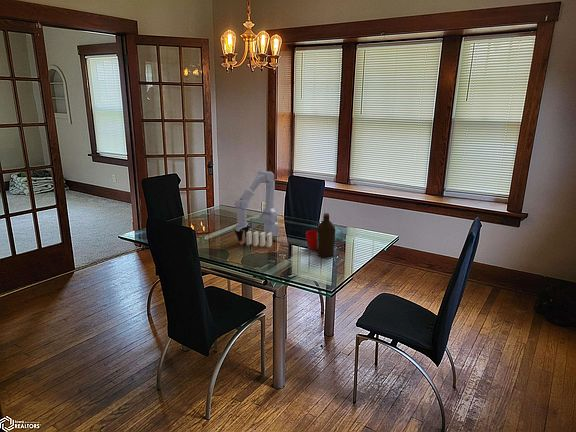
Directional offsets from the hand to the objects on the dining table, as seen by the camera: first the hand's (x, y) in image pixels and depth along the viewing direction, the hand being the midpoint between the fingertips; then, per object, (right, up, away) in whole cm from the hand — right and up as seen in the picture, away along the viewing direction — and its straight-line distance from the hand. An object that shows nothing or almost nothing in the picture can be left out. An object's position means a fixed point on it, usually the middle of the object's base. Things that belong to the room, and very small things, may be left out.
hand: (242, 239), depth 257 cm
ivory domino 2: (+9, -3, -2) cm, 9 cm away
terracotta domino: (0, -3, +1) cm, 3 cm away
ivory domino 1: (+4, -3, -1) cm, 5 cm away
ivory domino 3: (+13, -4, -3) cm, 14 cm away
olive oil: (+50, -9, -21) cm, 55 cm away
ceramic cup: (+46, -5, -8) cm, 46 cm away
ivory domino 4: (+17, -4, -4) cm, 18 cm away
